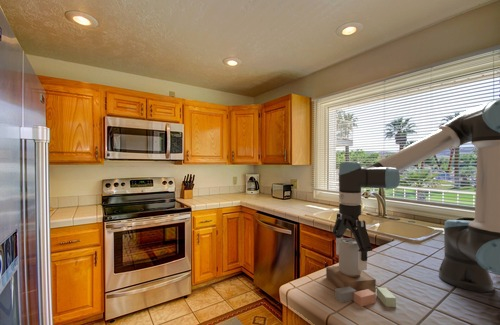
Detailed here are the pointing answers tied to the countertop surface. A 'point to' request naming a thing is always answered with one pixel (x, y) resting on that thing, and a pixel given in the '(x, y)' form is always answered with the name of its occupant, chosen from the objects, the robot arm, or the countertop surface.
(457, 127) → the robot arm
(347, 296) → the brick slate
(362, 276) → the walnut block
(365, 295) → the brick terracotta
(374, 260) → the countertop surface
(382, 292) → the brick sage
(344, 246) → the can
